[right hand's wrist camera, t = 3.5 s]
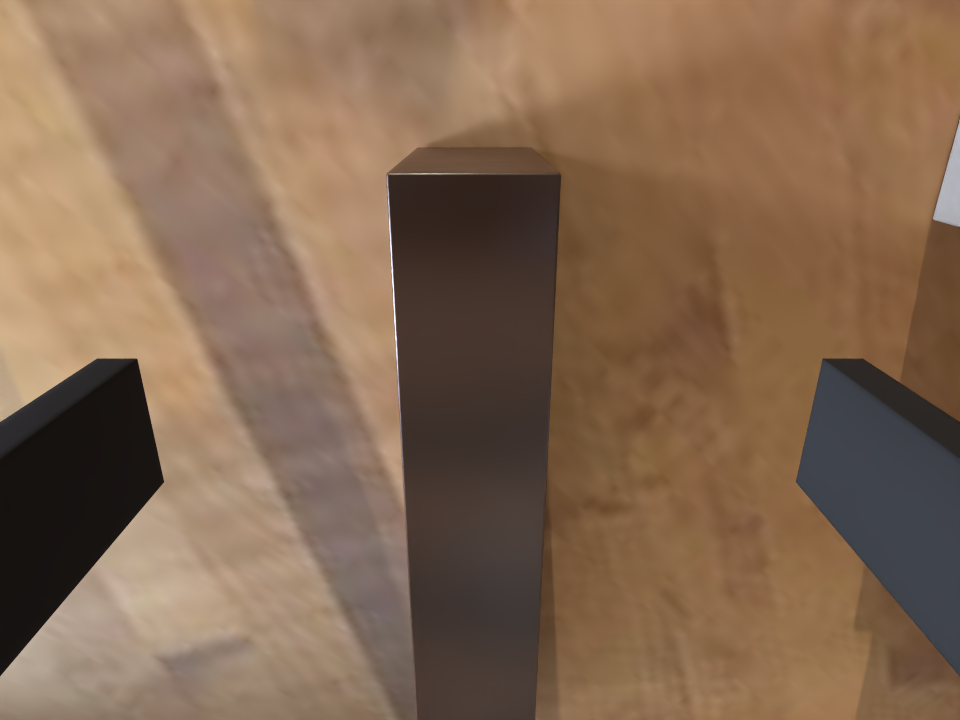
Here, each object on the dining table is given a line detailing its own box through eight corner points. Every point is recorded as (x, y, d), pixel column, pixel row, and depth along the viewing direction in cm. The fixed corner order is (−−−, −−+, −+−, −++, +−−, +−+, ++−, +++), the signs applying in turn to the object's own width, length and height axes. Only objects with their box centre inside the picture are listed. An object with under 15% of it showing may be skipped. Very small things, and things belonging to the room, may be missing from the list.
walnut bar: (515, 691, 32) (528, 871, 24) (436, 691, 32) (424, 871, 24) (532, 147, 22) (561, 172, 14) (416, 147, 22) (385, 172, 14)
